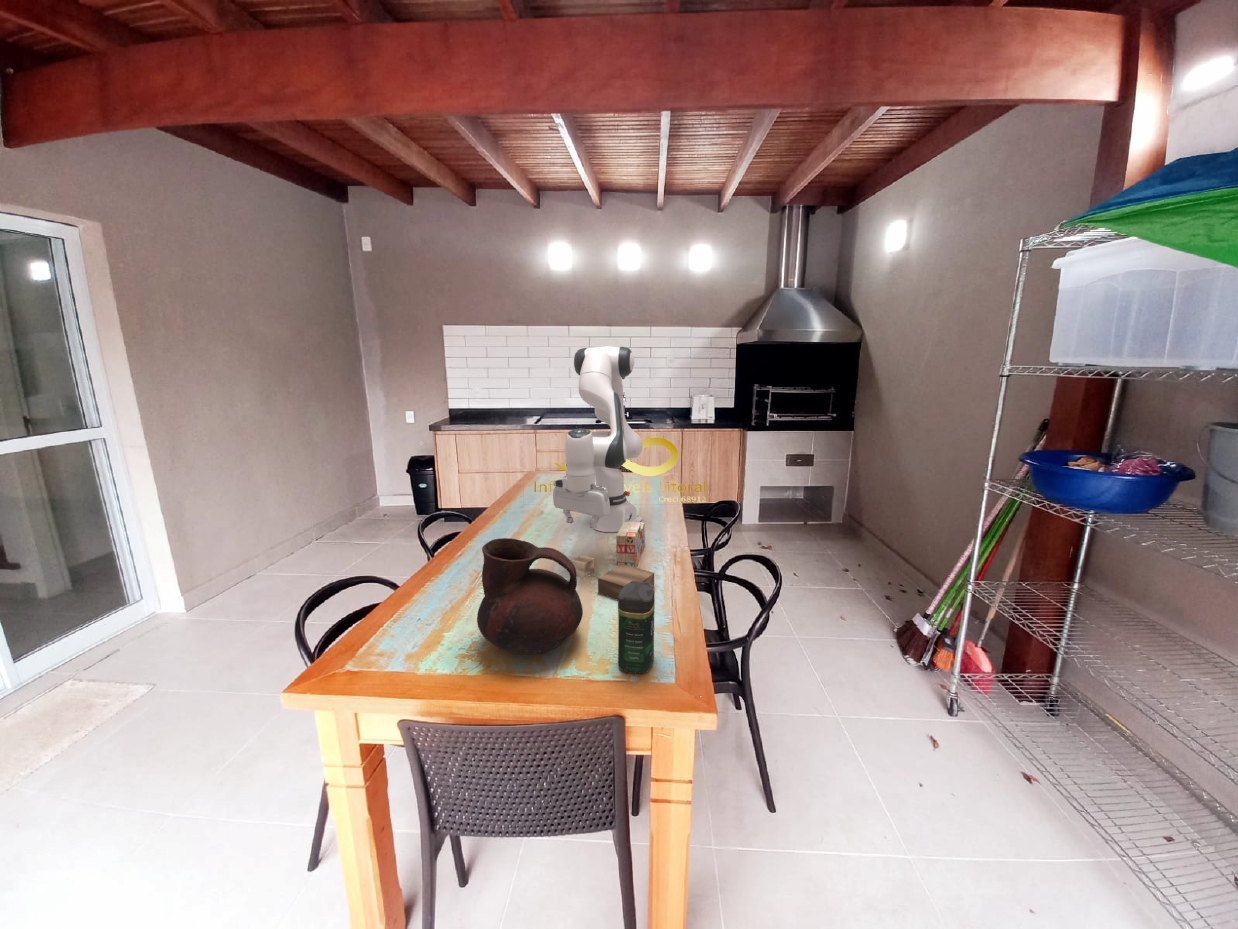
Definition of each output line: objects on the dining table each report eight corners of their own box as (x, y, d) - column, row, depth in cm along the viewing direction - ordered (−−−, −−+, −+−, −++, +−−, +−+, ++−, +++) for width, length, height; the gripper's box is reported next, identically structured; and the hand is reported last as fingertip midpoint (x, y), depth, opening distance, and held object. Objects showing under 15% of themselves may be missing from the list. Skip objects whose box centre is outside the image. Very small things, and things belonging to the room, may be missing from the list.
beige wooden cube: (582, 569, 160) (581, 555, 159) (594, 573, 157) (593, 558, 156) (572, 575, 156) (571, 560, 155) (584, 578, 153) (584, 564, 152)
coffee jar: (650, 678, 106) (650, 600, 102) (615, 673, 108) (613, 596, 104) (657, 652, 115) (657, 579, 111) (624, 648, 117) (623, 576, 113)
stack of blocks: (628, 545, 180) (627, 513, 177) (644, 546, 178) (645, 514, 176) (616, 570, 159) (616, 534, 156) (635, 571, 158) (635, 535, 155)
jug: (568, 678, 106) (563, 572, 101) (460, 666, 111) (451, 564, 105) (593, 618, 130) (591, 529, 125) (504, 610, 135) (498, 524, 129)
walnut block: (621, 578, 153) (621, 563, 152) (654, 588, 146) (654, 572, 145) (598, 593, 144) (597, 578, 142) (632, 605, 137) (632, 588, 136)
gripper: (614, 485, 146) (614, 528, 149) (562, 476, 158) (563, 517, 161) (601, 489, 141) (602, 534, 144) (549, 480, 153) (550, 522, 156)
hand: (581, 525), depth 153 cm, fingers open, 8 cm apart
